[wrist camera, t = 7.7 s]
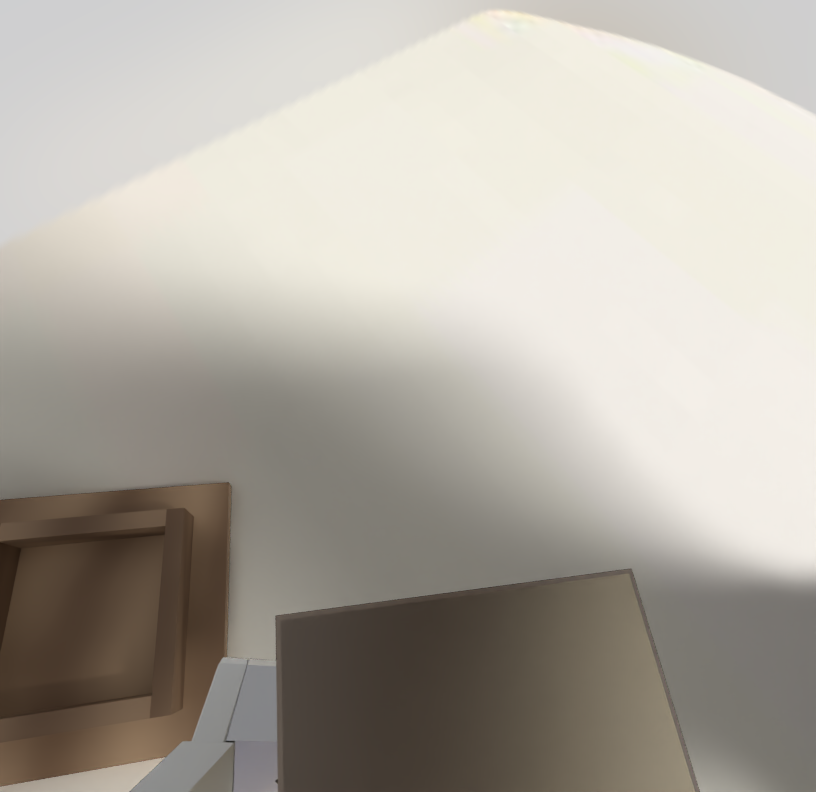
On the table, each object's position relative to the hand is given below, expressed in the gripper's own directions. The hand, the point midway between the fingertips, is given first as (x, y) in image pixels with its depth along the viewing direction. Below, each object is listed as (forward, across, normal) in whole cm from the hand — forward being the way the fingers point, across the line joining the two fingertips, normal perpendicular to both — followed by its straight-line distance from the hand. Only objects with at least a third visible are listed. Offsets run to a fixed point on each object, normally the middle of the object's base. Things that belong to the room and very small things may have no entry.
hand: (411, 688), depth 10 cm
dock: (+12, +13, +11) cm, 21 cm away
